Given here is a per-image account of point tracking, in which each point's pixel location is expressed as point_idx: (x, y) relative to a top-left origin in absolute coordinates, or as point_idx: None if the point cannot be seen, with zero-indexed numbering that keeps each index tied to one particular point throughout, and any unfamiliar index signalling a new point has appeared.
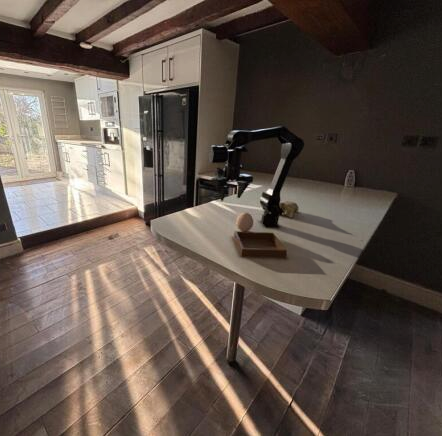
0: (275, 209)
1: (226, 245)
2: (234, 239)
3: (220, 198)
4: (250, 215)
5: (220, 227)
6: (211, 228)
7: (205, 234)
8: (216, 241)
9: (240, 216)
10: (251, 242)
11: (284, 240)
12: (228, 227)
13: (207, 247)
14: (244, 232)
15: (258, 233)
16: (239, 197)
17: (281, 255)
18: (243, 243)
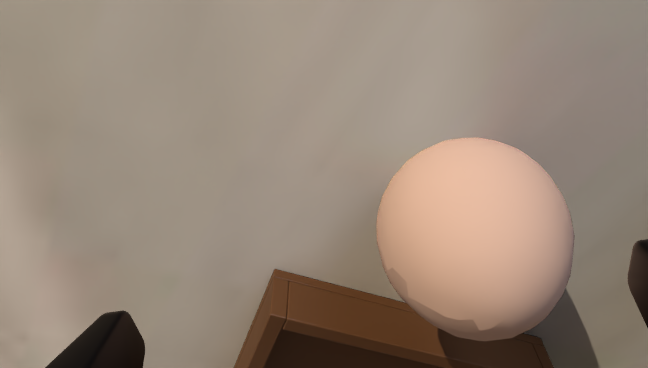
0: None
1: (170, 335)
2: (264, 295)
3: (72, 347)
4: (532, 327)
5: (251, 53)
6: (136, 52)
7: (40, 163)
8: (113, 281)
9: (418, 285)
10: (353, 361)
11: (609, 361)
12: (342, 76)
13: (26, 330)
14: (344, 343)
15: (448, 365)
16: (645, 305)
17: None
18: (290, 359)
